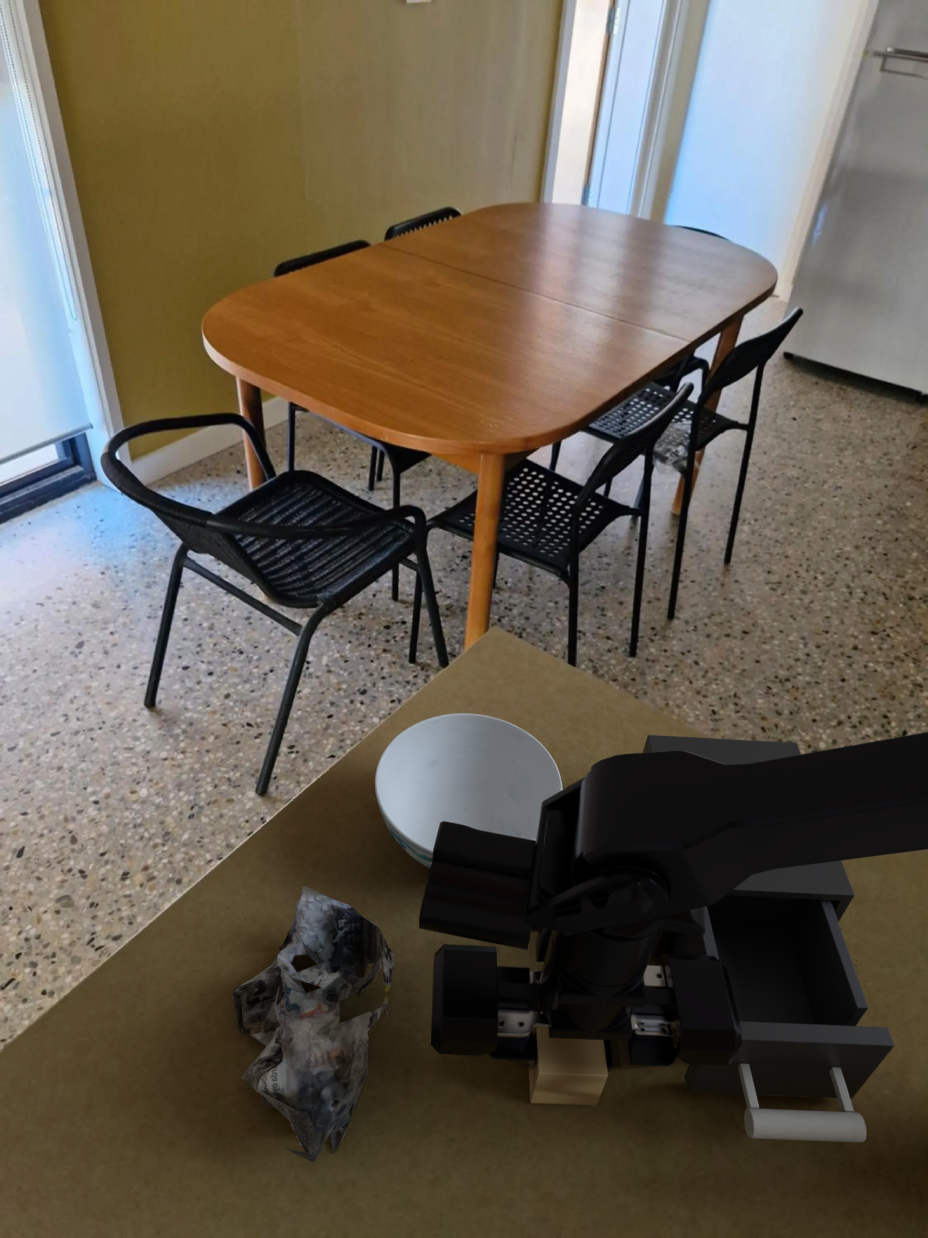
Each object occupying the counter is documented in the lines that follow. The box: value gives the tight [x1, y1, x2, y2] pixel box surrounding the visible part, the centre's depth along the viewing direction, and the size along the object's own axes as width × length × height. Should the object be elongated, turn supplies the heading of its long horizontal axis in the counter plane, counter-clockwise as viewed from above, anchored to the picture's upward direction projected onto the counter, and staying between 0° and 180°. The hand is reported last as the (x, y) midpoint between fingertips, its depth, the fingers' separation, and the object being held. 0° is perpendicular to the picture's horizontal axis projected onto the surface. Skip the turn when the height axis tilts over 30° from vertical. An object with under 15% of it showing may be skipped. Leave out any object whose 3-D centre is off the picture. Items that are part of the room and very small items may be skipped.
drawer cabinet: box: [642, 734, 855, 960], centre depth 71 cm, size 15×13×10 cm
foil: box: [231, 885, 396, 1163], centre depth 60 cm, size 12×11×15 cm
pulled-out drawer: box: [670, 895, 895, 1143], centre depth 61 cm, size 18×11×8 cm, turn 179°
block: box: [528, 1012, 609, 1106], centre depth 60 cm, size 4×4×4 cm
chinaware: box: [374, 712, 563, 869], centre depth 73 cm, size 15×15×8 cm
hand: (563, 1063), depth 61 cm, fingers closed on block, 4 cm apart
